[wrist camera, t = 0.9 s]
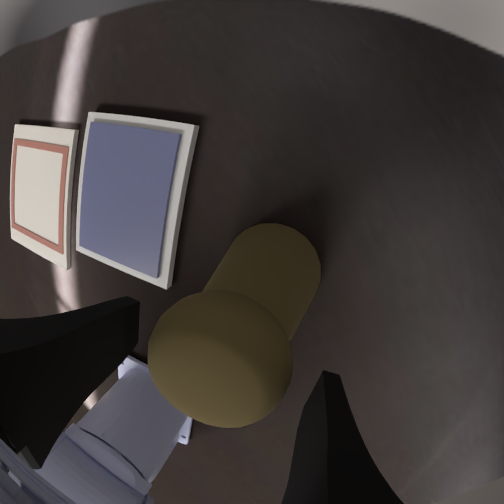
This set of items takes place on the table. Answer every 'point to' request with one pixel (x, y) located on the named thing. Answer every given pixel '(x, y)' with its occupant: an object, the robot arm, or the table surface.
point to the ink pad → (134, 192)
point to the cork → (237, 330)
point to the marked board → (43, 190)
